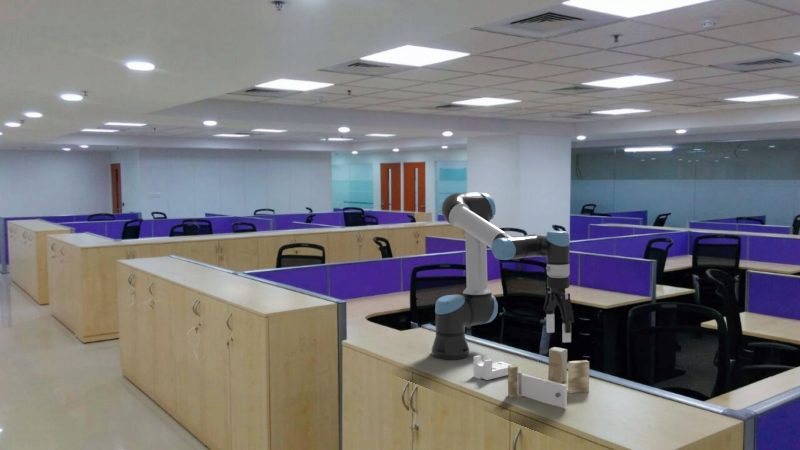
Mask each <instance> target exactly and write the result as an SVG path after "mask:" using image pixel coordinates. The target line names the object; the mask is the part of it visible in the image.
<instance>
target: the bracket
mask: <svg viewBox="0 0 800 450" xmlns="http://www.w3.org/2000/svg"><path fill="white" fill-rule="evenodd" d="M508 365H511V363H507V362H504V361H502V360H501V361H497V362H493V359H485V360H484V362H483V360H482V356H481V355H474V356H473V378H476V379H479V380H483V379H484V380H486V381H488V380H492V379H497V378H501V377H504V376H508Z"/></svg>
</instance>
